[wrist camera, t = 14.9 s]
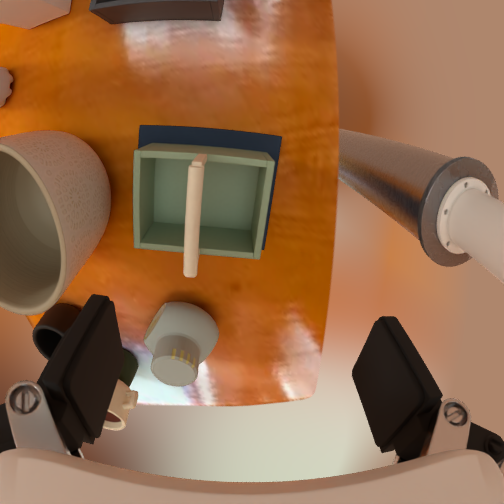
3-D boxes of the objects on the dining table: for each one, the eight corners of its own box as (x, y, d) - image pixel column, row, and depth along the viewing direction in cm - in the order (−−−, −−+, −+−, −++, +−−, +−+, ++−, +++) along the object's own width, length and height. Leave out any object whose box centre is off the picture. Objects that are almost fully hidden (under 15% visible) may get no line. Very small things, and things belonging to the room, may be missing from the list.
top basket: (267, 152, 32) (284, 172, 21) (255, 234, 36) (264, 287, 26) (151, 142, 30) (113, 159, 20) (149, 224, 35) (118, 273, 24)
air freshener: (176, 283, 39) (162, 332, 30) (226, 311, 41) (226, 363, 32) (143, 331, 42) (128, 379, 33) (189, 354, 45) (183, 404, 36)
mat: (281, 136, 31) (282, 136, 31) (263, 248, 37) (264, 250, 37) (140, 125, 30) (139, 125, 29) (138, 237, 36) (137, 238, 35)
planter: (124, 116, 29) (52, 125, 15) (131, 250, 36) (86, 326, 23) (17, 133, 27) (-62, 157, 14) (33, 247, 35) (-26, 305, 21)
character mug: (138, 338, 43) (118, 403, 31) (158, 367, 46) (145, 430, 35) (88, 347, 44) (63, 404, 32) (109, 374, 47) (91, 430, 35)
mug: (77, 346, 44) (63, 375, 37) (42, 311, 40) (23, 337, 34) (117, 322, 42) (104, 354, 35) (78, 280, 38) (57, 308, 31)
